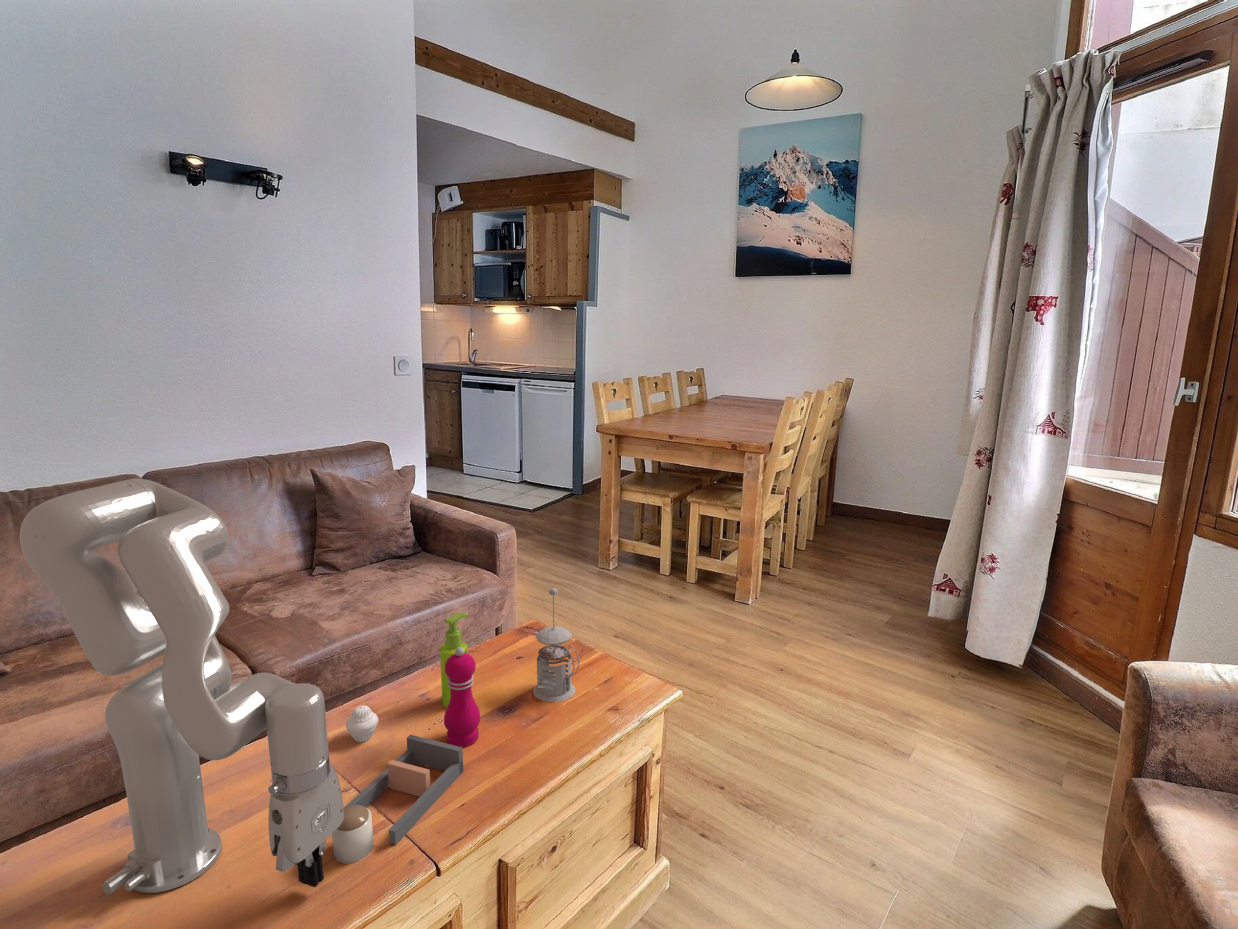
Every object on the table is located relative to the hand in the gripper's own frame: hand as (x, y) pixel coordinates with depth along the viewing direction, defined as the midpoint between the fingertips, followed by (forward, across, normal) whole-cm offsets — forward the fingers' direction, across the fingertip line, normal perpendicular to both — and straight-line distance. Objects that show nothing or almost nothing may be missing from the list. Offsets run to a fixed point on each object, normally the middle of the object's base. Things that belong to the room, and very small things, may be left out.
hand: (311, 880), depth 102 cm
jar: (+2, +9, 0) cm, 9 cm away
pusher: (+2, +24, 0) cm, 24 cm away
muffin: (+2, +34, +19) cm, 39 cm away
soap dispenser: (+2, +53, +9) cm, 54 cm away
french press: (+2, +64, -10) cm, 65 cm away
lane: (+2, +22, 0) cm, 22 cm away
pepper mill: (+2, +41, 0) cm, 41 cm away
